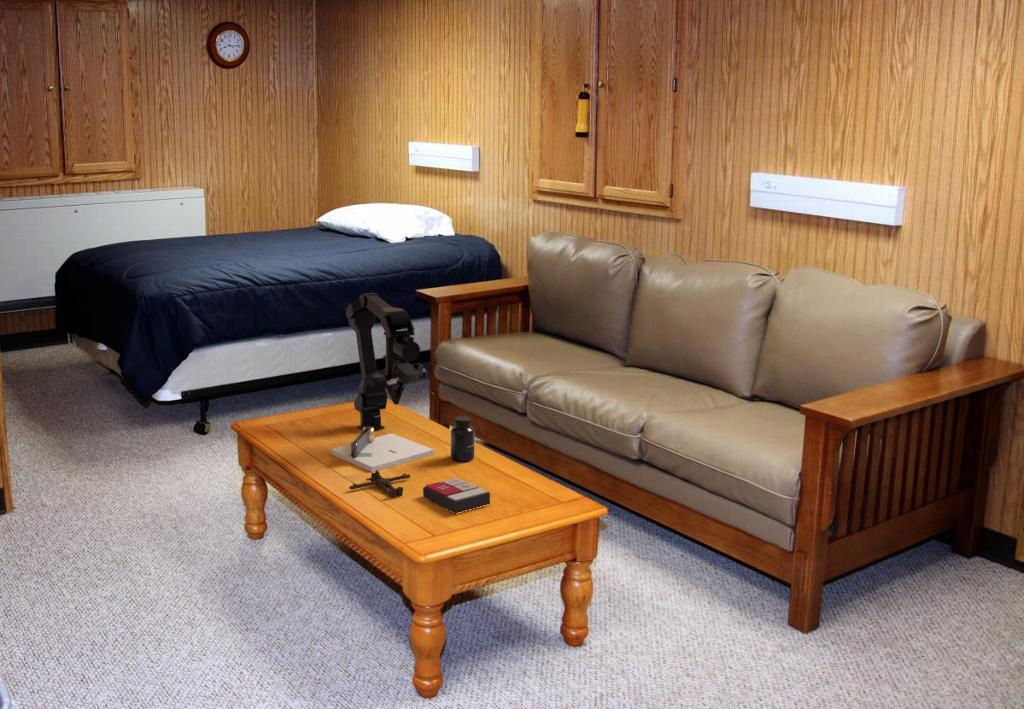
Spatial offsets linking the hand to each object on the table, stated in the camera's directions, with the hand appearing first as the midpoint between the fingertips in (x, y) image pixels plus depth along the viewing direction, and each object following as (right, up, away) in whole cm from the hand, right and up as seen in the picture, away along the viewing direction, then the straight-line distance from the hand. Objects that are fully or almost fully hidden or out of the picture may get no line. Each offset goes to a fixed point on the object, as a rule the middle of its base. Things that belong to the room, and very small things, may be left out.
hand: (396, 404), depth 317 cm
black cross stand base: (0, -21, -31) cm, 38 cm away
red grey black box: (+20, -24, -39) cm, 49 cm away
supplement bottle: (+20, -15, -7) cm, 26 cm away
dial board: (-3, -14, -5) cm, 15 cm away
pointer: (-9, -12, -5) cm, 16 cm away
